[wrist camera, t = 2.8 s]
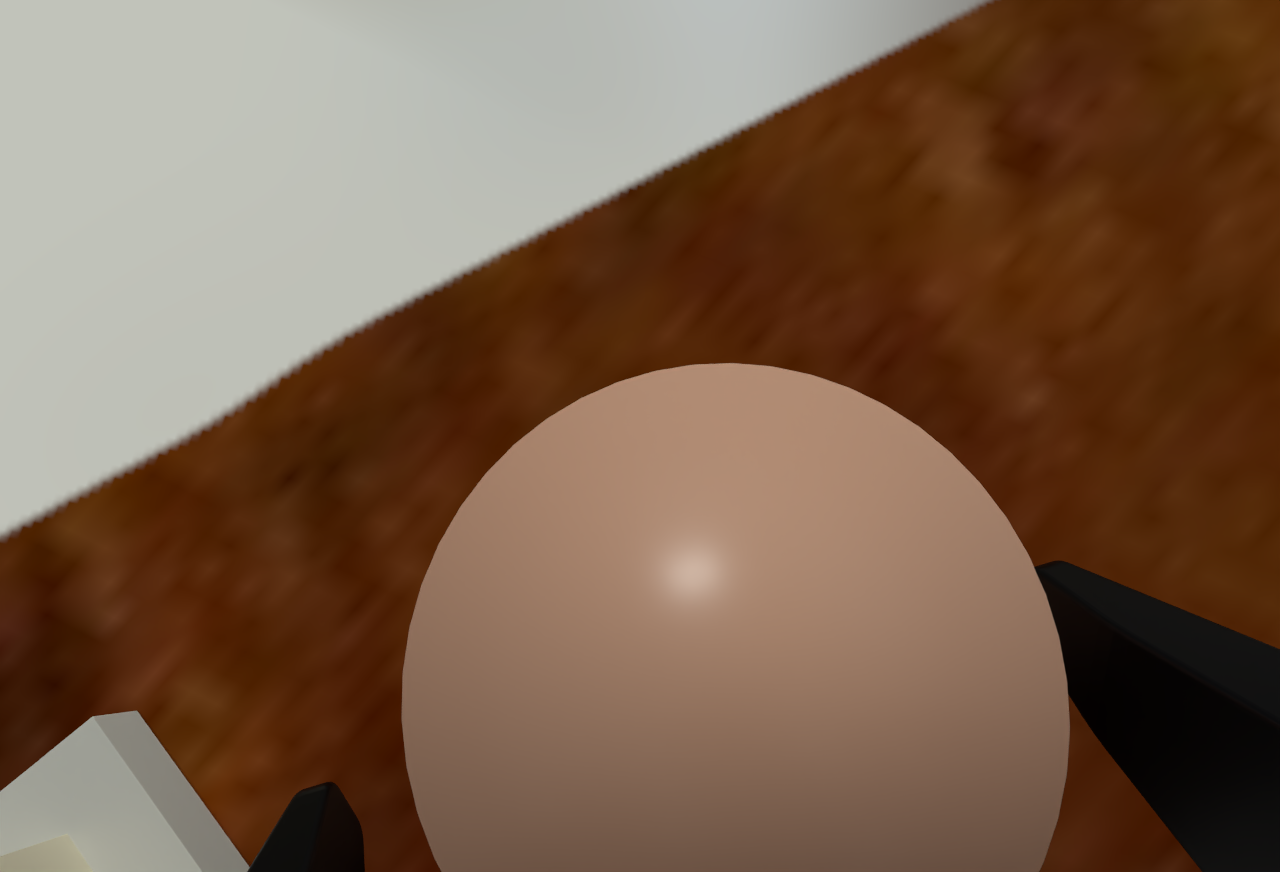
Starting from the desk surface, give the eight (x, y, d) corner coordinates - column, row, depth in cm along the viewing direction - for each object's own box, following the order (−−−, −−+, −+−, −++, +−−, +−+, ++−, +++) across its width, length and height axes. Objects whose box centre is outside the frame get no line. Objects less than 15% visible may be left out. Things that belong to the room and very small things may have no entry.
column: (743, 815, 17) (1015, 1168, 5) (512, 745, 17) (296, 941, 6) (798, 578, 18) (1107, 456, 7) (581, 516, 19) (522, 296, 7)
